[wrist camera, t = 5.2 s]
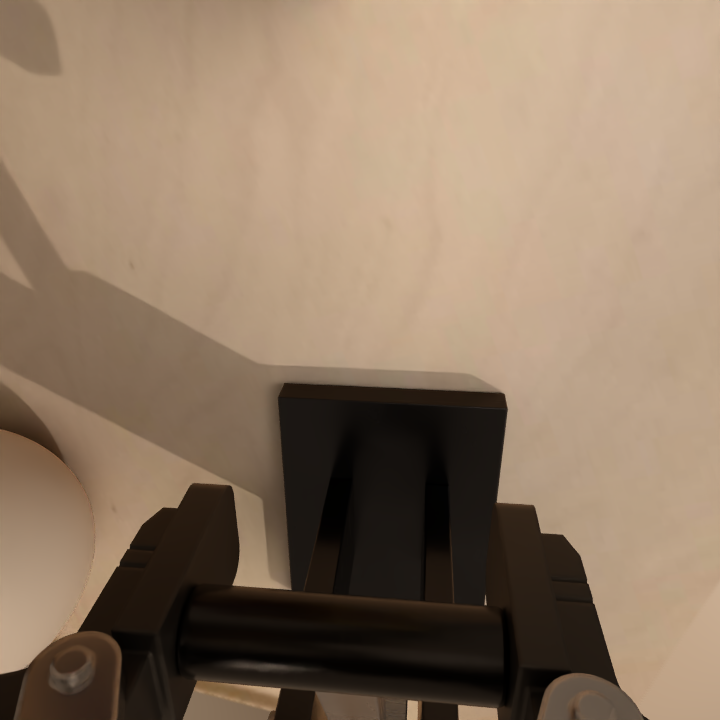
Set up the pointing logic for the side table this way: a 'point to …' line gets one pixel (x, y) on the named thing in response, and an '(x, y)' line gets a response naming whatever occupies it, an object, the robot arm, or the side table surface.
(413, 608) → the lever
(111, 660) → the robot arm
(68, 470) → the ornament
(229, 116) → the side table surface
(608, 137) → the side table surface
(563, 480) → the side table surface
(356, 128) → the side table surface
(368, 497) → the bracket
